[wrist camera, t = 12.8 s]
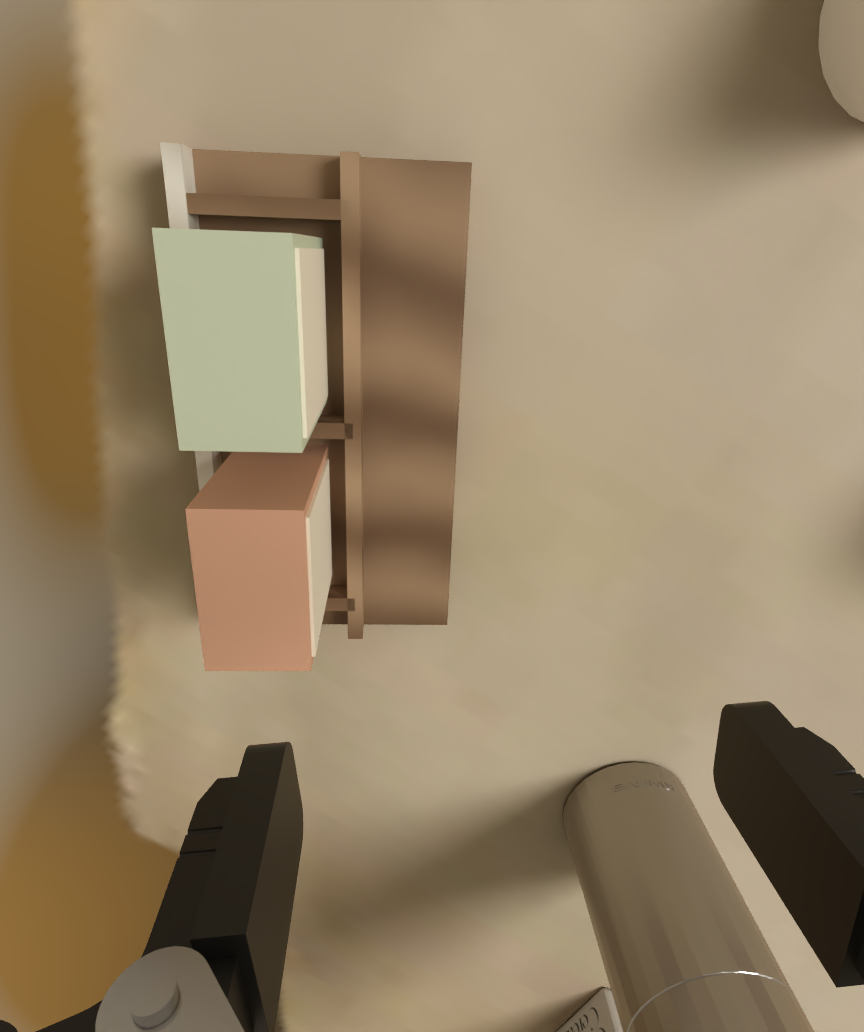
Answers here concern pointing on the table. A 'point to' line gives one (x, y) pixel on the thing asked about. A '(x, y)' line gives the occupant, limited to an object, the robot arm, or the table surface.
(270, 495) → the terracotta tea box
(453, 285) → the display rack
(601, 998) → the cereal box
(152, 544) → the table surface
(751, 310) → the table surface
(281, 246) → the sage tea box
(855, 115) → the white upright block
